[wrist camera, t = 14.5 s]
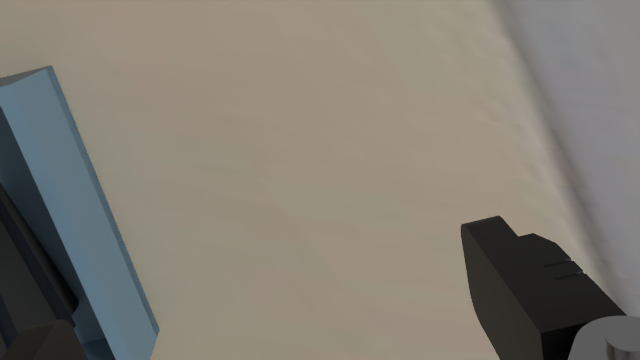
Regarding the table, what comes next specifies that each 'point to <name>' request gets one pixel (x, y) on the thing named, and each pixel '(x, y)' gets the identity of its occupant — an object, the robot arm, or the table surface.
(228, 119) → the table surface
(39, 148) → the bin
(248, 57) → the table surface
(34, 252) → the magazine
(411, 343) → the table surface
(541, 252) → the robot arm
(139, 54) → the table surface
